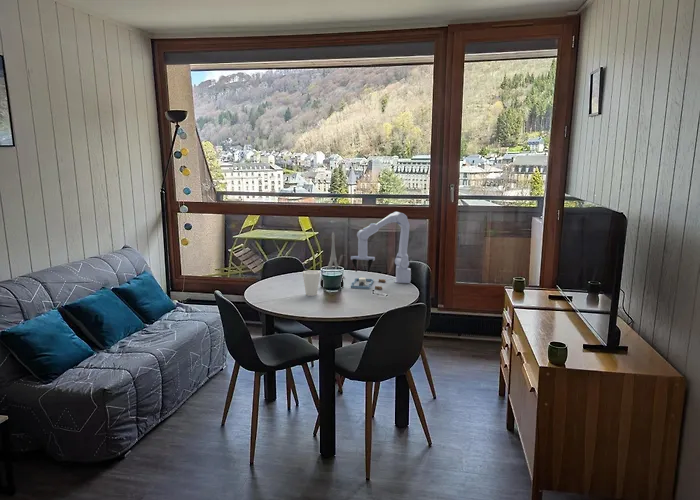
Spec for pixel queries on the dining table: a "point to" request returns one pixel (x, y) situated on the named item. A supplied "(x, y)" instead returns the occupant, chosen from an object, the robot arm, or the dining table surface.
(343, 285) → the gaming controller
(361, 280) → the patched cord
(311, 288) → the foam cup
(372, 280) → the tray
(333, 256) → the eiffel tower
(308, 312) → the dining table surface
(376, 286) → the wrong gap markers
